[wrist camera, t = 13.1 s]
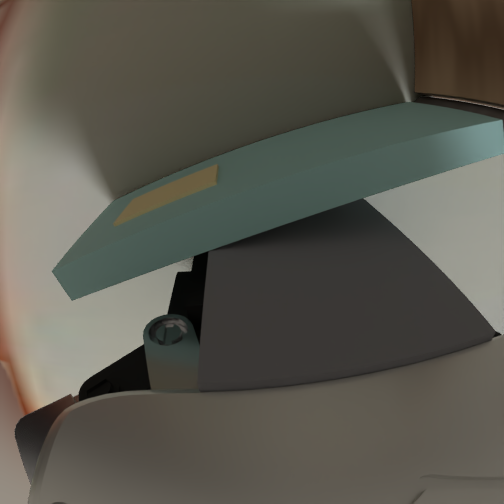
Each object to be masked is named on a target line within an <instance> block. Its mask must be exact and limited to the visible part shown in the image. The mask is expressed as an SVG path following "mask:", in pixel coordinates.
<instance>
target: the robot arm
mask: <svg viewBox="0 0 504 504" xmlns="http://www.w3.org/2000/svg"><path fill="white" fill-rule="evenodd" d="M208 253H209V251H207V252H204V253H201V254H198V255H196V256H194V259H193V265H192V271H188V272H177V275H176V279H175V283H174V287H173V292H172V296H171V300H170V305H169V309H168V314H167V315H163V316H159V317H157V318H155V319H153V320H152V321H150V322H149V323H148V324H147V325H146V327H145V329H144V332H143V339H144V344H143V345H142V346H140V347H139V348H137V349H135V350H134V351H132V352H131V353H129V354H127V355H126V356H124V357H122V358H121V359H119V360H118V361H116V362H114V363H113V364H111V365H110V366H108V367H106V368H105V369H103V370H101V371H100V372H98V373H96V374H95V375H93V376H92V377H90V378H89V379H88V380H86V381H85V382H84V383H83V385H82V386H81V388H80V391H79V395H77V396H74V397H73V396H72V395H71V394H69V395H67V396H65V397H63V398H61V399H59V400H57V401H55V402H53V403H51V404H49V405H47V406H44V407H42V408H40V409H38V410H36V411H34V412H32V413H29V414H27V415H25V416H24V417H23V418H21V419H20V420H19V421H18V423H17V424H16V428H15V439H16V442H17V446H18V449H19V452H20V456H21V459H22V461H23V465H24V468H25V471H26V473H27V476H28V479H29V482H30V484H31V488H30V492H29V498H28V504H504V334H503V335H501V334H500V333H498V332H496V333H495V334H494V336H493V338H492V340H490V341H487V342H484V343H481V344H478V345H475V346H472V347H469V348H466V349H463V350H460V351H457V352H453V353H450V354H447V355H443V356H440V357H436V358H432V359H429V360H425V361H421V362H417V363H413V364H409V365H405V366H401V367H397V368H392V369H388V370H383V371H379V372H374V373H369V374H364V375H359V376H353V377H347V378H342V379H335V380H329V381H322V382H315V383H308V384H300V385H292V386H283V387H274V388H263V389H251V390H235V391H210V392H199V388H198V384H197V378H198V363H199V350H200V337H201V325H202V313H203V302H204V292H205V282H206V272H207V262H208Z"/></svg>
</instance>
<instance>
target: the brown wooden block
mask: <svg viewBox="0 0 504 504" xmlns="http://www.w3.org/2000/svg"><path fill="white" fill-rule="evenodd" d="M411 1H412V12H413V25H414V45H415V92H417V93H421V94H425V95H429V96H433V97H438V98H433V97H424V96H422V97H419V98H418V99H417V100H416V101H415V103H422V104H429V105H435V106H441V107H447V108H453V109H458V110H463V111H468V112H472V113H477V114H481V115H485V116H490V117H494V118H497V119H501V120H503V131H504V110H502V109H504V0H411ZM441 98H446V99H441ZM448 99H453V100H448ZM455 100H459V101H455ZM461 101H466V102H461ZM467 102H471V103H467ZM473 103H477V104H473ZM478 104H482V105H478ZM483 105H487V106H483ZM488 106H492V107H488ZM493 107H497V108H501V109H497V108H493Z"/></svg>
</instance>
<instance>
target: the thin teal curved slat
mask: <svg viewBox="0 0 504 504" xmlns="http://www.w3.org/2000/svg"><path fill="white" fill-rule="evenodd" d="M501 154H504V131H503V120H501V119H497V118H494V117H490V116H485V115H481V114H477V113H472V112H468V111H463V110H458V109H453V108H447V107H441V106H435V105H429V104H422V103H414V102H405V103H400V104H395V105H390V106H386V107H381V108H376V109H372V110H368V111H363V112H359V113H355V114H351V115H347V116H343V117H339V118H335V119H331V120H328V121H324V122H320V123H317V124H313V125H310V126H306V127H303V128H299V129H296V130H293V131H290V132H286V133H283V134H280V135H277V136H274V137H271V138H267V139H264V140H261V141H258V142H256V143H253V144H250V145H247V146H244V147H241V148H238V149H235V150H233V151H230V152H227V153H225V154H222V155H219V156H216V157H214V158H211V159H209V160H206V161H203V162H201V163H198V164H196V165H193V166H191V167H188V168H186V169H184V170H181V171H179V172H176V173H174V174H172V175H169V176H167V177H165V178H162V179H160V180H158V181H155V182H153V183H151V184H149V185H146V186H144V187H142V188H140V189H138V190H135V191H133V192H131V193H129V194H127V195H125V196H123V197H121V198H119V199H116V200H114V201H113V202H112V203H111V204H110V205H109V206H108V207H107V208H106V209H105V210H104V211H103V212H102V213H101V214H100V215H99V217H98V218H97V219H96V220H95V221H94V222H93V223H92V224H91V225H90V226H89V228H88V229H87V230H86V231H85V232H84V233H83V234H82V235H81V237H80V238H79V239H78V240H77V241H76V242H75V244H74V245H73V246H72V247H71V248H70V249H69V251H68V252H67V253H66V254H65V255H64V257H63V258H62V259H61V260H60V262H59V263H58V264H57V265H56V267H55V268H54V269H53V270H52V272H53V274H54V275H55V277H56V278H57V280H58V281H59V283H60V284H61V286H62V287H63V289H64V290H65V292H66V293H67V294H68V296H69V297H70V299H71V300H75V299H78V298H80V297H83V296H86V295H88V294H91V293H94V292H96V291H99V290H102V289H105V288H107V287H110V286H113V285H115V284H118V283H121V282H124V281H126V280H129V279H132V278H135V277H137V276H140V275H143V274H146V273H148V272H151V271H154V270H157V269H159V268H162V267H165V266H168V265H170V264H173V263H176V262H179V261H182V260H184V259H187V258H190V257H193V256H196V255H198V254H201V253H204V252H207V251H210V250H213V249H215V248H218V247H221V246H224V245H227V244H230V243H233V242H235V241H238V240H241V239H244V238H247V237H250V236H253V235H256V234H258V233H261V232H264V231H267V230H270V229H273V228H276V227H279V226H282V225H285V224H288V223H290V222H293V221H296V220H299V219H302V218H305V217H308V216H311V215H314V214H317V213H320V212H323V211H326V210H329V209H332V208H335V207H338V206H341V205H344V204H347V203H350V202H353V201H356V200H359V199H362V198H365V197H368V196H371V195H374V194H377V193H380V192H383V191H386V190H389V189H393V188H396V187H399V186H402V185H405V184H408V183H411V182H414V181H417V180H420V179H424V178H427V177H430V176H433V175H436V174H439V173H443V172H446V171H449V170H452V169H455V168H458V167H462V166H465V165H468V164H471V163H474V162H478V161H481V160H484V159H487V158H491V157H494V156H497V155H501Z"/></svg>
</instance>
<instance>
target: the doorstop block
mask: <svg viewBox="0 0 504 504" xmlns="http://www.w3.org/2000/svg"><path fill="white" fill-rule="evenodd" d="M495 333H496V331H495V330H494V329H493V327H492V326H491V325H490V324H489V323H488V321H487V320H486V319H485V318H484V317H483V316H482V314H481V313H480V312H479V311H478V310H477V309H476V307H475V306H474V305H473V304H472V303H471V302H470V301H469V300H468V298H467V297H466V296H465V295H464V294H463V293H462V292H461V291H460V290H459V289H458V288H457V286H456V285H455V284H454V283H453V282H452V281H451V280H450V279H449V278H448V277H447V276H446V275H445V274H444V273H443V272H442V271H441V270H440V269H439V268H438V267H437V266H436V265H435V264H434V263H433V262H432V261H431V260H430V259H429V258H428V257H427V256H426V255H425V254H424V253H423V252H422V251H421V250H420V249H419V248H418V247H417V246H416V245H415V244H414V243H413V242H412V241H411V240H410V239H409V238H407V237H406V236H405V235H404V234H403V233H402V232H401V231H400V230H399V229H398V228H397V227H395V226H394V225H393V224H392V223H391V222H390V221H389V220H388V219H386V218H385V217H384V216H383V215H382V214H381V213H380V212H378V211H377V210H376V209H375V208H374V207H373V206H372V205H370V204H369V203H368V202H367V201H366V200H364V199H363V198H362V199H359V200H356V201H353V202H350V203H347V204H344V205H341V206H338V207H335V208H332V209H329V210H326V211H323V212H320V213H317V214H314V215H311V216H308V217H305V218H302V219H299V220H296V221H293V222H290V223H288V224H285V225H282V226H279V227H276V228H273V229H270V230H267V231H264V232H261V233H258V234H256V235H253V236H250V237H247V238H244V239H241V240H238V241H235V242H233V243H230V244H227V245H224V246H221V247H218V248H215V249H213V250H210V251H209V253H208V262H207V272H206V282H205V292H204V302H203V313H202V325H201V337H200V350H199V363H198V378H197V384H198V388H199V392H210V391H235V390H251V389H263V388H274V387H283V386H292V385H300V384H308V383H315V382H322V381H329V380H335V379H342V378H347V377H353V376H359V375H364V374H369V373H374V372H379V371H383V370H388V369H392V368H397V367H401V366H405V365H409V364H413V363H417V362H421V361H425V360H429V359H432V358H436V357H440V356H443V355H447V354H450V353H453V352H457V351H460V350H463V349H466V348H469V347H472V346H475V345H478V344H481V343H484V342H487V341H490V340H492V338H493V336H494V334H495Z"/></svg>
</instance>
